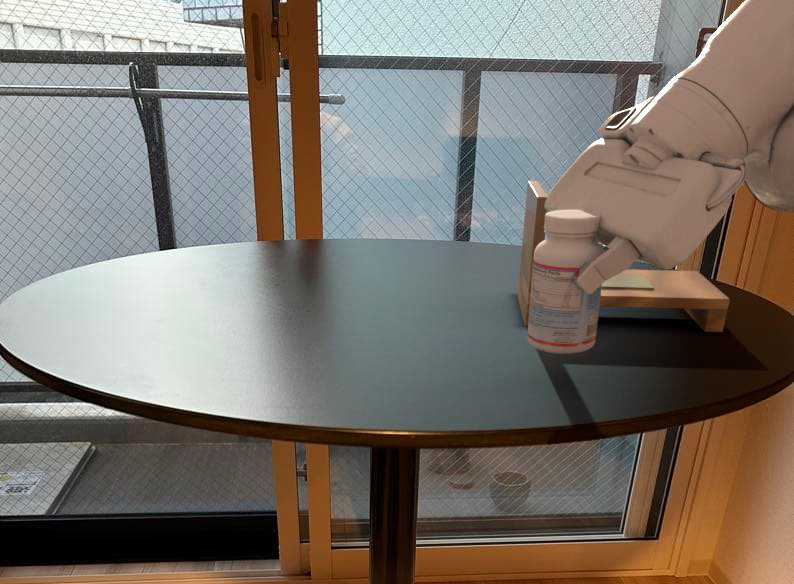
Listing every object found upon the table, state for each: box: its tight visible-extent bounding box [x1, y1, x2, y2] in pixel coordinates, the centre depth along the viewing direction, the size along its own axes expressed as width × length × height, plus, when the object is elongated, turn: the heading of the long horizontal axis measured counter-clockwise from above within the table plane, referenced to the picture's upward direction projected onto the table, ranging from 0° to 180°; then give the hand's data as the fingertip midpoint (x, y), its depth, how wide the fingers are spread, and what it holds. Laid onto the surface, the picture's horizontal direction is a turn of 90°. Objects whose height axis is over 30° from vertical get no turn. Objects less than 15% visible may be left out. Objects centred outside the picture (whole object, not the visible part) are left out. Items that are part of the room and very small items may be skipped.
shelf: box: [517, 180, 731, 333], centre depth 93 cm, size 22×14×14 cm, turn 86°
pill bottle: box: [527, 210, 606, 355], centre depth 70 cm, size 6×6×11 cm
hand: (559, 277), depth 70 cm, fingers closed on pill bottle, 6 cm apart
